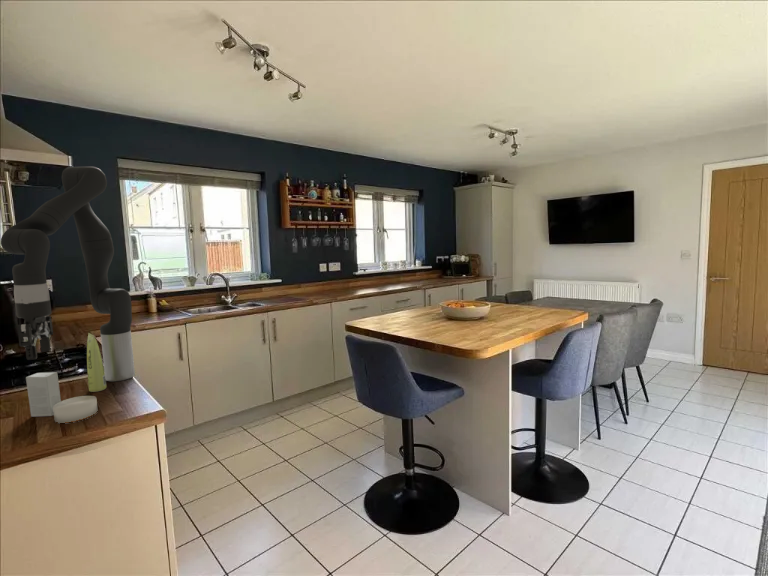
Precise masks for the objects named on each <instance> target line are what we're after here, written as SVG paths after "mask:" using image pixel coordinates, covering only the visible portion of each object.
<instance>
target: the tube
mask: <svg viewBox="0 0 768 576" xmlns="http://www.w3.org/2000/svg"><path fill="white" fill-rule="evenodd" d="M87 334H88V336H87V341H86V368H87V369H86V371H87V383H88V391H89V392H90V393H92V392H93V393H98V392H101V391H104V390H105V389H107V387H108V386H107V381H106V379H105V371H104V361H103V359H102V358H103V357H102V355H101V350H100V347H99V344H98V341H97V339H96V338H95V335H94V334H92V333H90V332H88V333H87Z"/></svg>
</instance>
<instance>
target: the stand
mask: <svg viewBox="0 0 768 576" xmlns="http://www.w3.org/2000/svg"><path fill="white" fill-rule="evenodd" d="M97 411H98V412H99V409H98V401H97V396H94V395H81V396H74V397H70V398H67V399H63V400H61V402H59V403H57V404H55V405H54V406H53V412H54V415H53V419H54V423H56V422H58V423H57V424H60V423H65V422H71V421H76V420H79V419H83V418H86V417H88V416H91V415H93V414H95V413H96V412H97ZM98 412H97V413H98ZM97 413H96V414H97ZM96 414H95V415H96ZM65 424H66V423H65Z"/></svg>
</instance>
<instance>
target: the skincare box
mask: <svg viewBox="0 0 768 576" xmlns="http://www.w3.org/2000/svg"><path fill="white" fill-rule="evenodd" d="M25 381H26V389H27V395H28V403H29V411H30V412H29V413H30V417H31V418H32V417H34V418H35V417H36V418H37V417H52V416H53V417H54V412H53V406H54V405H55V404H57V403H59V402H61V401H62V400H61V399H62V398H61V392H60V382H59V377H58V372H57V371H56V372H53V371H52V372H36V373H33V374H31V375H28V376H26V377H25Z"/></svg>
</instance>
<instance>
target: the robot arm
mask: <svg viewBox="0 0 768 576" xmlns="http://www.w3.org/2000/svg"><path fill="white" fill-rule="evenodd" d="M61 182H62V183H61V184H62V186H63V190H64V192H62V193H61V194H59V195H57V196H55V197H53V198H51V199H48V200H47V201H46V202H44V203H43V204H41V206H39V207H38V208H37V209H36V210H35V211H33V213H32V214H31V215H30V216H29V217H27V218H25V219H23V220H20V221H19V222H17V223H16V224H14V225H12V226H10V227H9V228H8V229H7V230H5V231H4V232H3V234H2V235H1V238H0V246H1V248H2V249H3V250H4V251H5V253H8V254H12V255H24V260H23V262H20V263H17V264H14V265H13V266H12V271H11V272H12V279H13V296H14V299H13V300H14V303H15V304H14V306H15V307H14V308H15V315H16V317H17V318H18V319H23V320H24V321H23V323H22V324H17V335H18V336H17V337H18V345H19V347H24V350H25V357H26V360H27V361H32V360H36V359H37V358H38V352H37V341H38V339H39V346H40V352H42V353H44V352H45V353H46V352H50V351H51V350H52V349H51V348H52V347H51V346H52V345H51V337H52V335H53V336H54V329H53V322H52V316H51V315H52V306H51V298H50V291H49V290H50V289H49V287H48V284H47V283H48V281H47V275H46V274H47V273H46V267H47V263H48V259H49V254H50V250H51V242H50V239H49V237H48V236H52V235H53V234H55V233H56V232H57V231H58V230H59V229H60V228H61V227H62V226H63V225H64V224H65V223H66V222H67V221H68V220H69V219H70V218H71V216H73V219H74V223H75V228H76V231H77V235H78V240H79V245H80V248H81V253H82V256H83V260H84V263H85V265H84V266H85V271H86V274H87V281H88V289H89V298H90V303H91V306H92V308H93V310H94V311H95V312H96V313H98V314H101V315H102V314H103V315H105V314H107V315H110V316H109V317H110V318H109V321H108V322H107V323H103V324H102V325H101V326H100V327H99V332H100V340H101V341H100V342H101V349H102V351H101V352H102V358H103V359H102V362H103V367H104V373H105V379H106V382H121V381H125V380H129V379H131V378H133V377H135V375H136V373H135V371H136V370H135V362H134V361H135V359H134V349H133V340H132V330H131V326H132V322H133V314H132V313H133V310H132V308H133V307H132V298H131V295H130V293H129V291H128V290H126V289H124V288H111V287H110V283H109V278H108V273H109V268H110V266H111V263H112V261H113V257H114V256H115V247H114V244H113V243H114V241H113V238H112V235H111V232H110V230H109V229H108V227H107V226H106V225H105V224H104V223H103V222H102V220H101V219H100V218H99V217H98V216H97V215H96V214H95V212H94V210H93V208H92V207H91V204H90V202H91V201H93V200H94V199H95V198H97V197H98V196H100V195H101V194H102V193H104V192H105V190H106V188H107V184H108V180H107V176H106V174H105V173H104V171H103V170H101V169H100V168H98V167H96V166H70V167H69V166H68V167H65V168H64V169H63V170H62V173H61Z"/></svg>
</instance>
